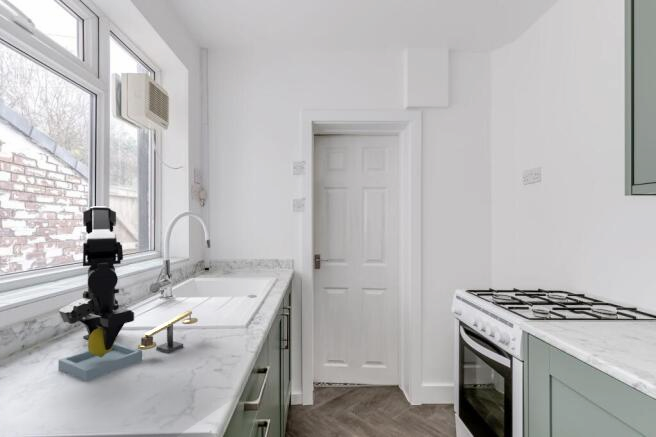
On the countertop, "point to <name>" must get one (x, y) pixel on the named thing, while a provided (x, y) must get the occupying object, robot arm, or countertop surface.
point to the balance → (170, 345)
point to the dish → (99, 362)
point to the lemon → (97, 343)
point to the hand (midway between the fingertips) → (101, 347)
